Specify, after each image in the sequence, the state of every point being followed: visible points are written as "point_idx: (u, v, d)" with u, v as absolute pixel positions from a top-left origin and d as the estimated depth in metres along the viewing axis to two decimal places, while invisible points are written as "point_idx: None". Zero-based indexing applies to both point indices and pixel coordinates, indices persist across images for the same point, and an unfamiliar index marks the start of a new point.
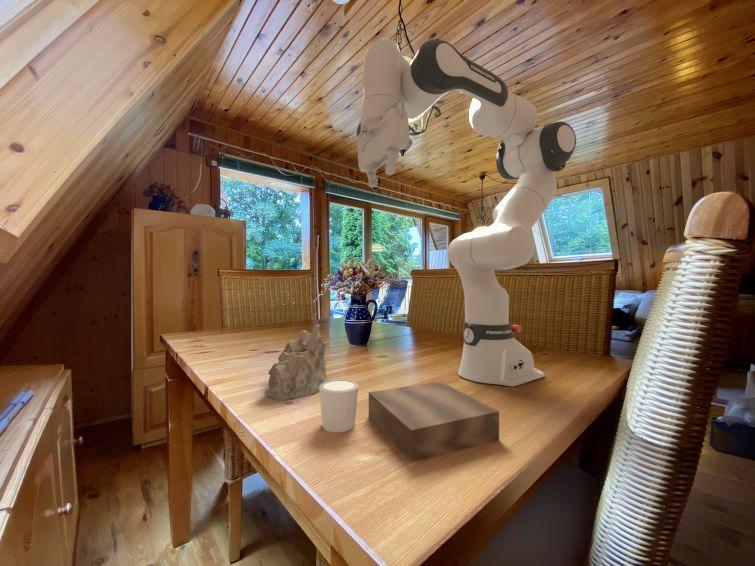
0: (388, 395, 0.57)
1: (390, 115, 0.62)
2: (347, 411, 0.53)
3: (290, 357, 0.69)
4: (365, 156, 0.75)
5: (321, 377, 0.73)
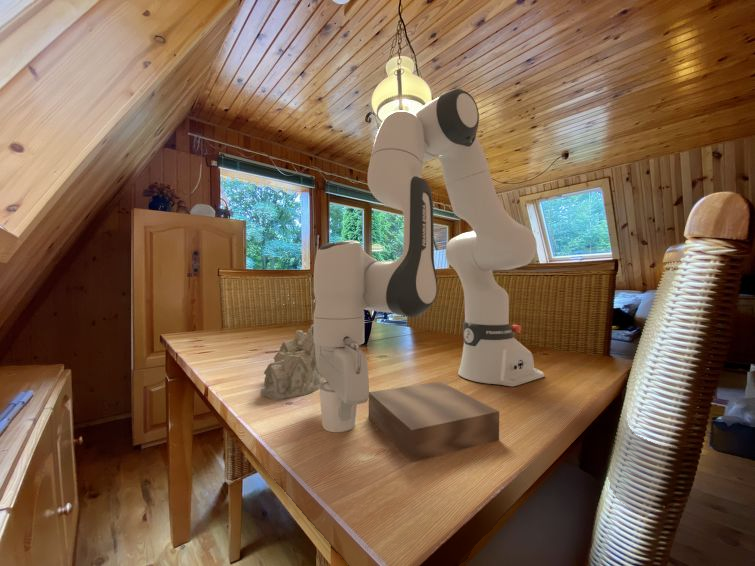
0: (388, 395, 0.57)
1: (343, 368, 0.46)
2: None
3: (286, 357, 0.69)
4: (321, 364, 0.59)
5: (317, 377, 0.73)
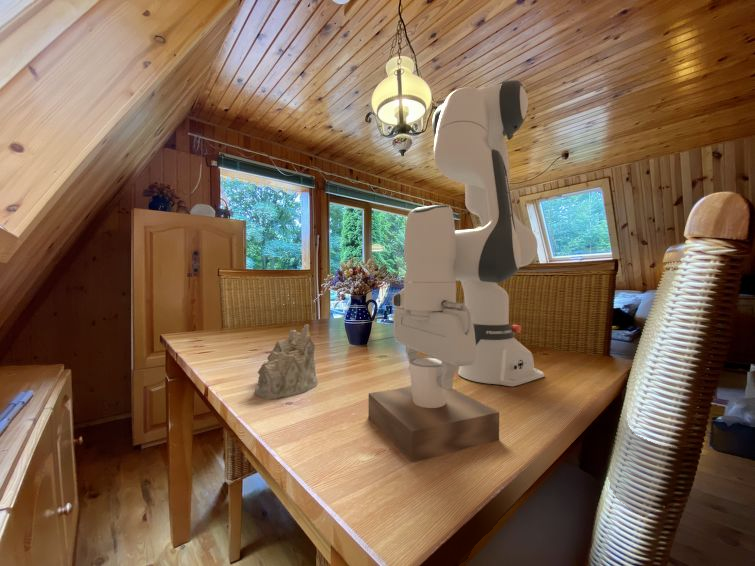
0: (388, 396, 0.57)
1: (451, 329, 0.45)
2: None
3: (280, 356, 0.69)
4: (405, 334, 0.58)
5: (310, 376, 0.74)
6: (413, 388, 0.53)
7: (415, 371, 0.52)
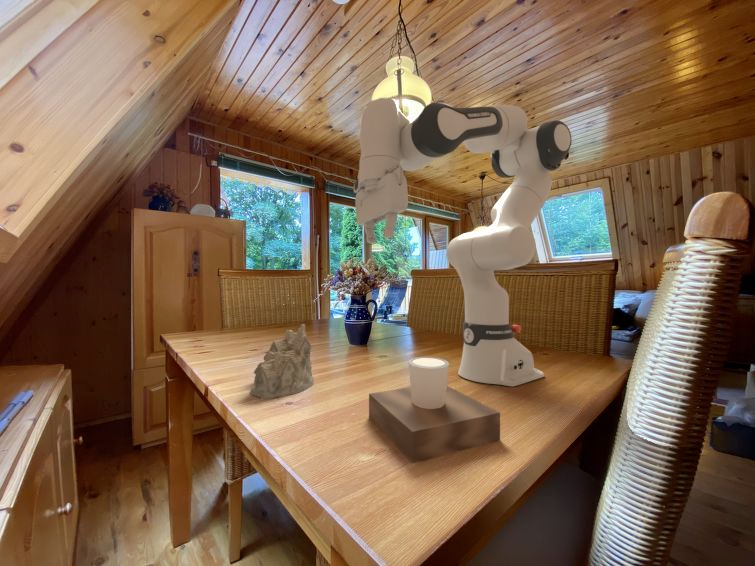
0: (388, 397, 0.56)
1: (388, 182, 0.60)
2: (441, 387, 0.51)
3: (276, 356, 0.70)
4: (363, 212, 0.73)
5: (307, 376, 0.74)
6: (412, 388, 0.53)
7: (415, 372, 0.52)
